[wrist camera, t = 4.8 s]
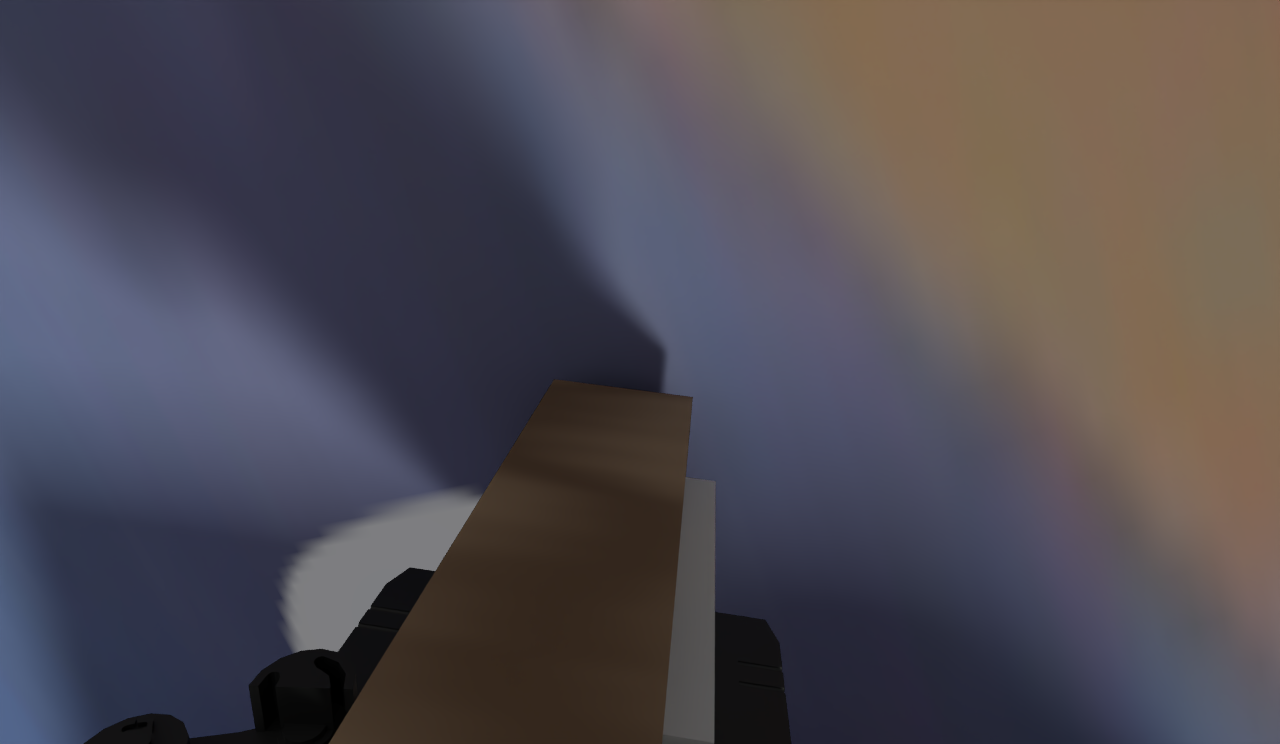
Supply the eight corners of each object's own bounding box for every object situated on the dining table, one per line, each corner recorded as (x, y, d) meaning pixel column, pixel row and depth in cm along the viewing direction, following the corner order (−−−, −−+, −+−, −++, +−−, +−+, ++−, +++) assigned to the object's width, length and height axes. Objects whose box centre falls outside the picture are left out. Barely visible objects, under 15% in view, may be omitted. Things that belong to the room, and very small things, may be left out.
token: (543, 600, 16) (364, 1099, 8) (554, 378, 14) (323, 752, 6) (662, 618, 16) (605, 1148, 8) (692, 396, 14) (656, 810, 6)
